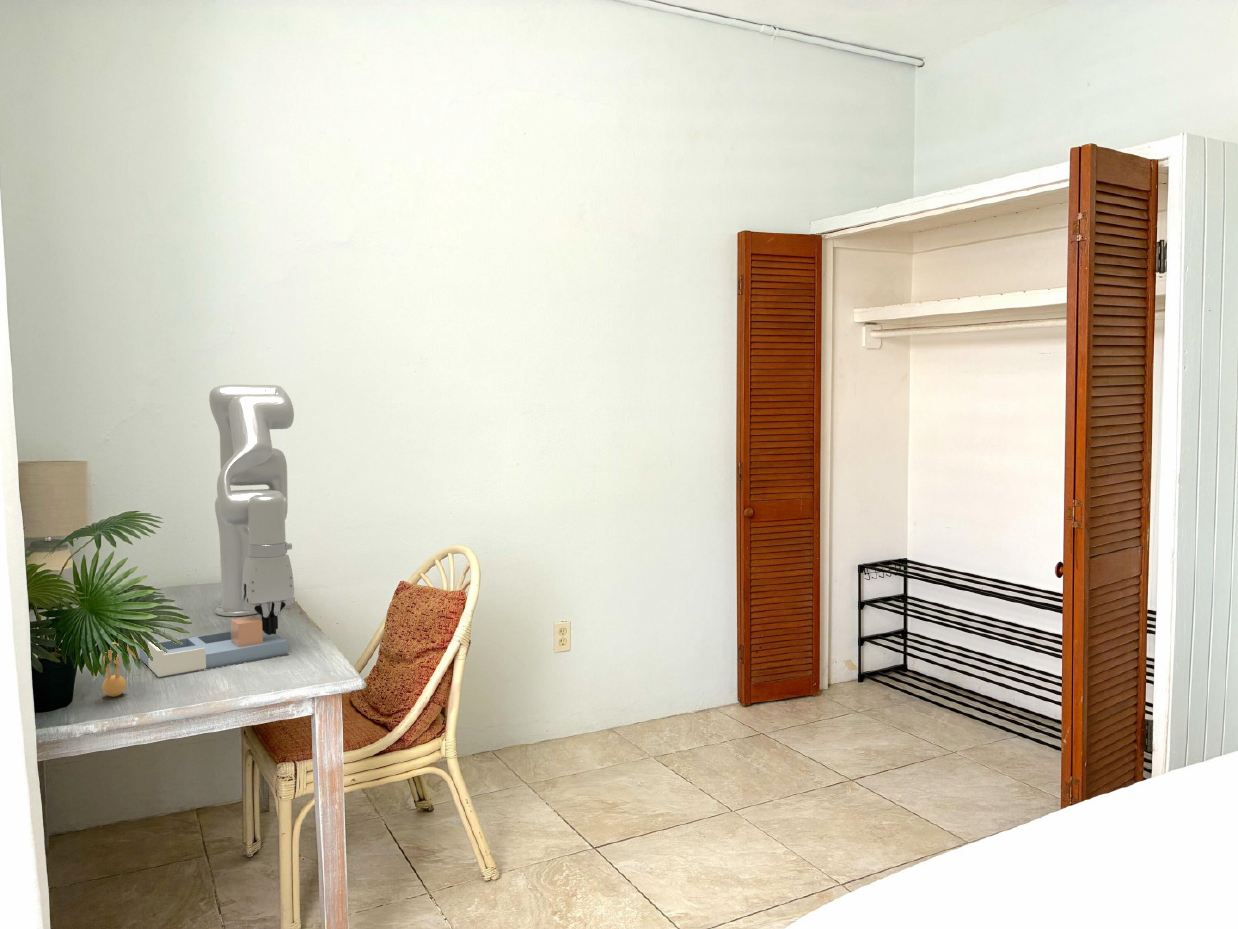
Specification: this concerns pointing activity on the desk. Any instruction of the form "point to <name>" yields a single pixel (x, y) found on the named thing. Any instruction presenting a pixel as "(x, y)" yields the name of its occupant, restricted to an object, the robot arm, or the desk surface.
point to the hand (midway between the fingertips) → (270, 633)
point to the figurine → (114, 677)
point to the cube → (246, 631)
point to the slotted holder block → (209, 653)
